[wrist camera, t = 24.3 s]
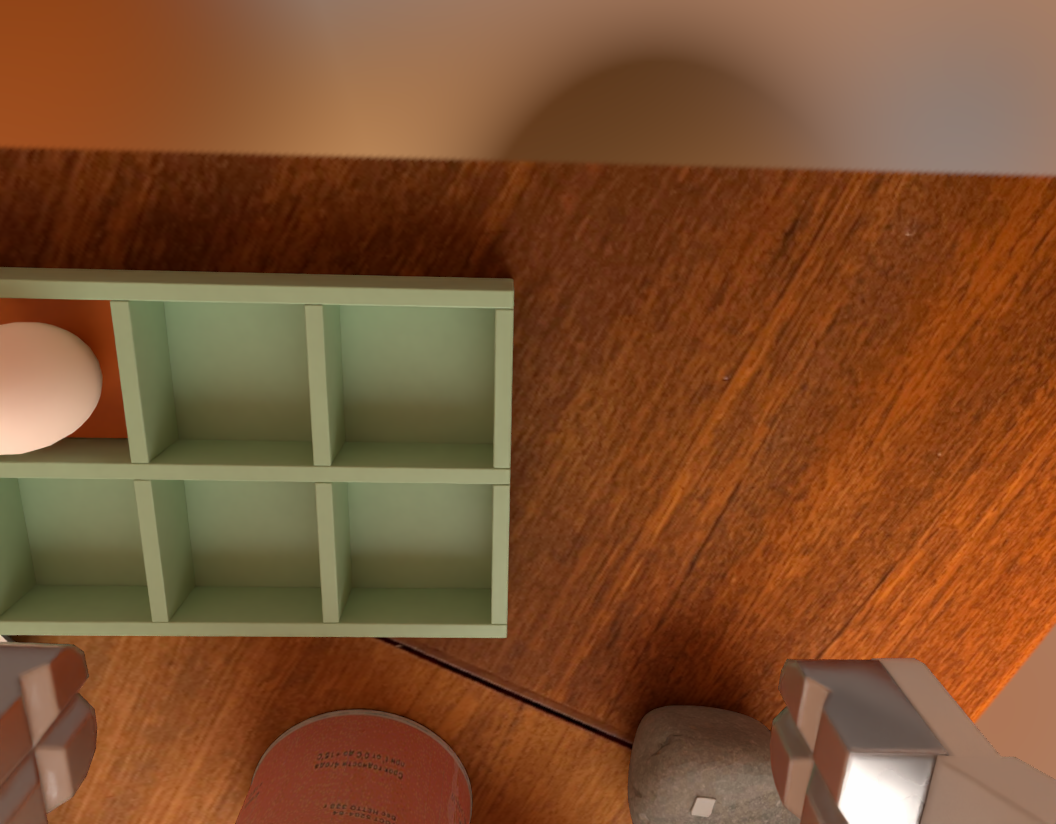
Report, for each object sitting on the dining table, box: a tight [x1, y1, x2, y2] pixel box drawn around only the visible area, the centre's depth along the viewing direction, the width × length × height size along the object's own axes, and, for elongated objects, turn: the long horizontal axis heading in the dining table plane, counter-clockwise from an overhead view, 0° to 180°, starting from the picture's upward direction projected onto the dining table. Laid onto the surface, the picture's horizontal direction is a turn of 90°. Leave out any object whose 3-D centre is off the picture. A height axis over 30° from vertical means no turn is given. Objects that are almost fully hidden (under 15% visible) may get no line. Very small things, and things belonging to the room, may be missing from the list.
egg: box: [0, 322, 103, 455], centre depth 28 cm, size 5×5×7 cm
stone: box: [628, 705, 801, 824], centre depth 37 cm, size 9×9×10 cm
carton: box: [0, 267, 514, 638], centre depth 32 cm, size 15×22×4 cm
